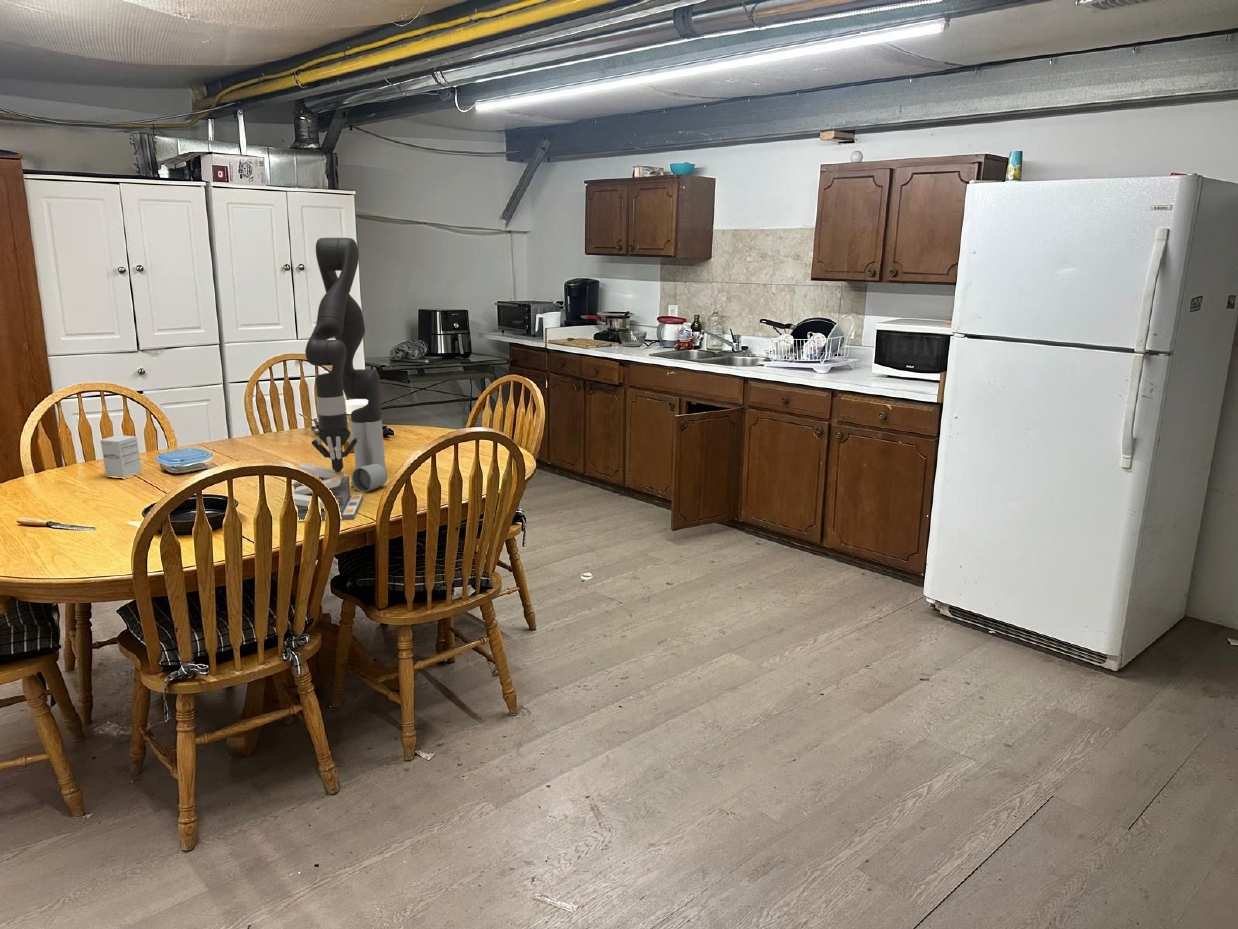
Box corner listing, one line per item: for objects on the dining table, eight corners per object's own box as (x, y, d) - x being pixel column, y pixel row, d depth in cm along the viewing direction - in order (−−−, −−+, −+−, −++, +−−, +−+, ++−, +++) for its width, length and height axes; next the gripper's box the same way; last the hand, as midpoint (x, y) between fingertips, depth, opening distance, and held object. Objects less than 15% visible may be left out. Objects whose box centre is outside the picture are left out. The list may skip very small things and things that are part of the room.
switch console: (299, 501, 247) (296, 474, 244) (363, 498, 249) (360, 471, 247) (284, 522, 229) (281, 493, 227) (354, 519, 232) (351, 490, 230)
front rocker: (292, 499, 233) (293, 493, 233) (338, 505, 235) (338, 499, 235) (289, 503, 229) (290, 497, 229) (335, 510, 231) (336, 504, 231)
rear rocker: (300, 468, 243) (301, 462, 243) (343, 476, 245) (344, 471, 245) (297, 472, 239) (298, 466, 239) (340, 480, 242) (341, 475, 241)
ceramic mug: (390, 486, 260) (388, 462, 258) (372, 494, 253) (369, 469, 251) (363, 482, 265) (360, 459, 263) (344, 490, 258) (341, 465, 256)
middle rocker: (298, 492, 239) (296, 486, 238) (341, 481, 240) (339, 475, 239) (295, 496, 235) (293, 491, 234) (338, 485, 236) (336, 480, 235)
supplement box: (105, 478, 269) (98, 439, 266) (125, 472, 276) (118, 434, 273) (124, 480, 267) (117, 441, 264) (143, 474, 274) (137, 435, 270)
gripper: (358, 407, 242) (364, 466, 247) (310, 409, 241) (316, 468, 245) (354, 413, 235) (360, 473, 240) (304, 415, 233) (311, 476, 238)
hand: (338, 471), depth 243 cm, fingers closed
